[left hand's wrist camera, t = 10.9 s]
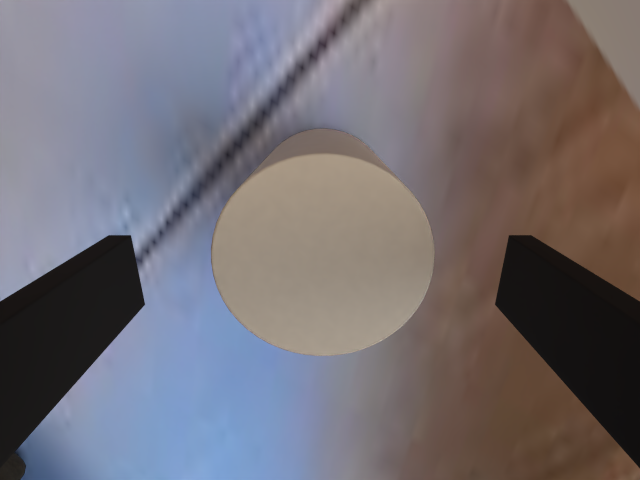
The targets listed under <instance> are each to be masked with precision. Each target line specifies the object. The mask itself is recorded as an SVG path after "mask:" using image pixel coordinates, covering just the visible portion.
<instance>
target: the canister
mask: <svg viewBox="0 0 640 480" xmlns="http://www.w3.org/2000/svg"><path fill="white" fill-rule="evenodd" d="M434 258H435V253H434V240H433V235H432V230H431V227H430V224H429V221H428V219H427V216H426V214H425V212H424V210H423V208H422V207H421V205H420V203H419V202H418V200H417V199H416V198H415V196H414V195H413V194H412V192H411V191H410V190H409V189H408V188H407V187H406V186H405V185H404V184H403V183H402V182H401V181H400V180H399V179H398V177H397V176H396V175H395V174H394V173H393V172H392V171H391V170H390V169H389V168H388V167H387V166H386V165H385V164H384V163H383V162H382V161H381V160H380V159H379V158H378V156H377V155H376V154H375V153H374V152H373V151H372V150H371V149H370V148H369V147H368V146H367V145H366V144H364V143H363V142H362V141H361V140H359V139H357V138H356V137H354V136H352V135H350V134H348V133H345V132H342V131H338V130H334V129H312V130H306V131H303V132H300V133H297V134H295V135H293V136H291V137H289V138H288V139H286V140H285V141H283V142H282V143H281V144H279V145H278V146H277V147H276V148H275V149H274V150H273V151H272V152H271V153H270V154H269V155H268V157H267V158H266V159H265V160H264V161H263V162H262V163H261V164H260V165H259V166H258V167H257V168H256V169H255V170H254V172H253V173H252V174H251V175H250V176H249V177H248V178H247V179H246V180H245V181H244V182H243V183H242V184H241V185H240V187H239V188H238V189H237V190H236V191H235V192H234V193H233V195H232V196H231V197H230V198H229V200H228V202H227V203H226V205H225V206H224V208H223V209H222V211H221V214H220V216H219V218H218V220H217V223H216V226H215V230H214V233H213V238H212V246H211V263H212V270H213V275H214V279H215V282H216V285H217V288H218V291H219V293H220V295H221V297H222V299H223V301H224V302H225V304H226V306H227V307H228V309H229V310H230V312H231V313H232V314H233V315H234V316H235V318H236V319H237V320H238V321H239V322H240V323H241V324H242V325H243V326H244V327H245V328H246V329H248V330H249V331H250V332H252V333H253V334H254V335H256V336H257V337H259V338H260V339H262V340H264V341H266V342H267V343H269V344H271V345H274V346H276V347H278V348H281V349H284V350H287V351H290V352H294V353H299V354H304V355H314V356H333V355H341V354H347V353H351V352H355V351H359V350H362V349H364V348H367V347H370V346H372V345H374V344H376V343H378V342H380V341H382V340H384V339H385V338H387V337H388V336H390V335H392V334H393V333H394V332H395V331H397V330H398V329H399V328H400V327H402V326H403V325H404V324H405V323H406V321H407V320H408V319H409V318H410V317H411V316H412V315H413V314H414V312H415V311H416V310H417V308H418V307H419V305H420V304H421V302H422V300H423V298H424V296H425V294H426V292H427V289H428V287H429V284H430V281H431V277H432V273H433V268H434Z"/></svg>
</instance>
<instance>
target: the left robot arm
mask: <svg viewBox="0 0 640 480" xmlns="http://www.w3.org/2000/svg"><path fill="white" fill-rule="evenodd" d="M144 305H145V303H144V298H143V293H142V288H141V283H140V278H139V273H138V268H137V263H136V258H135V253H134V248H133V243H132V238H131V235H109V236H107V237H105V238H104V239H102V240H100V241H99V242H97V243H96V244H94V245H92V246H91V247H89V248H87V249H86V250H84V251H82V252H81V253H79V254H78V255H76V256H74V257H73V258H71V259H69V260H68V261H66V262H64V263H63V264H61V265H59V266H58V267H56V268H55V269H53V270H51V271H50V272H48V273H46V274H45V275H43V276H41V277H40V278H38V279H37V280H35V281H33V282H32V283H30V284H28V285H27V286H25V287H23V288H22V289H20V290H18V291H17V292H15V293H14V294H12V295H10V296H9V297H7V298H5V299H4V300H2V301H0V468H1V467H2V466H3V464H4V463H5V462H6V461H7V460H8V459H9V458H10V456H11V455H12V454H13V453H14V452H15V451H16V450H17V449H18V447H19V446H20V445H21V444H22V443H23V442H24V441H25V440H26V438H27V437H28V436H29V435H30V434H31V433H32V432H33V430H34V429H35V428H36V427H37V426H38V425H39V424H40V423H41V421H42V420H43V419H44V418H45V417H46V416H47V415H48V414H49V412H50V411H51V410H52V409H53V408H54V407H55V406H56V404H57V403H58V402H59V401H60V400H61V399H62V398H63V397H64V395H65V394H66V393H67V392H68V391H69V390H70V389H71V388H72V386H73V385H74V384H75V383H76V382H77V381H78V380H79V378H80V377H81V376H82V375H83V374H84V373H85V372H86V371H87V369H88V368H89V367H90V366H91V365H92V364H93V363H94V362H95V360H96V359H97V358H98V357H99V356H100V355H101V354H102V352H103V351H104V350H105V349H106V348H107V347H108V346H109V345H110V343H111V342H112V341H113V340H114V339H115V338H116V337H117V336H118V334H119V333H120V332H121V331H122V330H123V329H124V328H125V327H126V325H127V324H128V323H129V322H130V321H131V320H132V319H133V317H134V316H135V315H136V314H137V313H138V312H139V311H140V310H141V308H142V307H143V306H144ZM495 305H496V306H497V307H498V308H499V310H500V311H501V312H502V313H503V314H504V315H505V316H506V317H507V319H508V320H509V321H510V322H511V323H512V324H513V325H514V327H515V328H516V329H517V330H518V331H519V332H520V333H521V334H522V336H523V337H524V338H525V339H526V340H527V341H528V342H529V343H530V345H531V346H532V347H533V348H534V349H535V350H536V351H537V352H538V354H539V355H540V356H541V357H542V358H543V359H544V360H545V362H546V363H547V364H548V365H549V366H550V367H551V368H552V369H553V371H554V372H555V373H556V374H557V375H558V376H559V377H560V378H561V380H562V381H563V382H564V383H565V384H566V385H567V386H568V388H569V389H570V390H571V391H572V392H573V393H574V394H575V395H576V397H577V398H578V399H579V400H580V401H581V402H582V403H583V404H584V406H585V407H586V408H587V409H588V410H589V411H590V412H591V414H592V415H593V416H594V417H595V418H596V419H597V420H598V421H599V423H600V424H601V425H602V426H603V427H604V428H605V429H606V430H607V432H608V433H609V434H610V435H611V436H612V437H613V438H614V440H615V441H616V442H617V443H618V444H619V445H620V446H621V447H622V449H623V450H624V451H625V452H626V453H627V454H628V455H629V456H630V458H631V459H632V460H633V461H634V462H635V463H636V464H637V466H638V467H639V468H640V301H638V300H636V299H635V298H633V297H631V296H630V295H628V294H626V293H625V292H623V291H622V290H620V289H618V288H617V287H615V286H613V285H612V284H610V283H608V282H607V281H605V280H603V279H602V278H600V277H599V276H597V275H595V274H594V273H592V272H590V271H589V270H587V269H585V268H584V267H582V266H581V265H579V264H577V263H576V262H574V261H572V260H571V259H569V258H567V257H566V256H564V255H562V254H561V253H559V252H558V251H556V250H554V249H553V248H551V247H549V246H548V245H546V244H544V243H543V242H541V241H540V240H538V239H536V238H535V237H533V236H531V235H509V238H508V243H507V248H506V253H505V258H504V263H503V268H502V273H501V278H500V283H499V288H498V293H497V298H496V302H495Z"/></svg>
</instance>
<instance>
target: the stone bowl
mask: <svg viewBox="0 0 640 480" xmlns="http://www.w3.org/2000/svg"><path fill="white" fill-rule="evenodd" d="M25 468H26V465H25V463H24V461H23V460H22V459H21V458H20V457H19V456H18V455H17V454H16V453H13V454H12V455H11V456H10V458H9V459H8V460H7V461H6V462H5V463H4V464H3V466H2V467H1V468H0V480H20V479H21V478H22V476H23V475H24V473H25Z"/></svg>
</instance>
